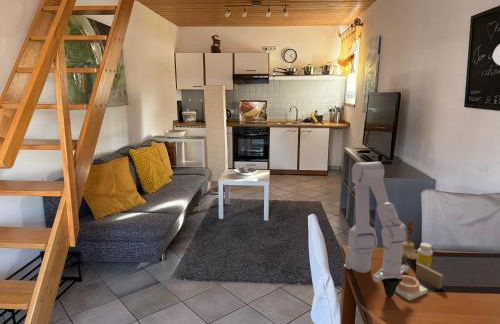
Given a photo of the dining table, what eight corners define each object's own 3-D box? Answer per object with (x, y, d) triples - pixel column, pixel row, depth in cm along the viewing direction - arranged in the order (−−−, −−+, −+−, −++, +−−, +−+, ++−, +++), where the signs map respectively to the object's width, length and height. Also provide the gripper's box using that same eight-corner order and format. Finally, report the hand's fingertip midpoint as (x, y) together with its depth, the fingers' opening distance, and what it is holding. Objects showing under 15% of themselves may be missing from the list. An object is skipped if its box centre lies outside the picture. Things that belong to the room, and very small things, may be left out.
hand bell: (396, 249, 151) (399, 215, 148) (416, 252, 148) (420, 218, 145) (397, 258, 144) (400, 222, 140) (419, 261, 141) (422, 225, 137)
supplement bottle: (432, 271, 133) (435, 248, 131) (417, 270, 134) (420, 247, 132) (428, 264, 138) (431, 242, 136) (414, 263, 139) (416, 241, 137)
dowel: (392, 270, 134) (393, 254, 132) (399, 268, 136) (400, 252, 134) (400, 275, 130) (402, 258, 129) (408, 272, 132) (409, 256, 131)
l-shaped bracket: (385, 289, 121) (387, 274, 120) (417, 277, 129) (419, 263, 127) (408, 303, 113) (410, 287, 112) (441, 290, 120) (443, 275, 119)
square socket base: (387, 286, 121) (388, 277, 120) (404, 280, 125) (405, 271, 124) (409, 300, 113) (410, 291, 112) (426, 293, 117) (427, 284, 116)
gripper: (386, 269, 105) (383, 308, 108) (417, 259, 112) (413, 295, 115) (369, 259, 112) (366, 296, 115) (399, 250, 118) (396, 285, 121)
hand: (389, 295), depth 115 cm, fingers closed
